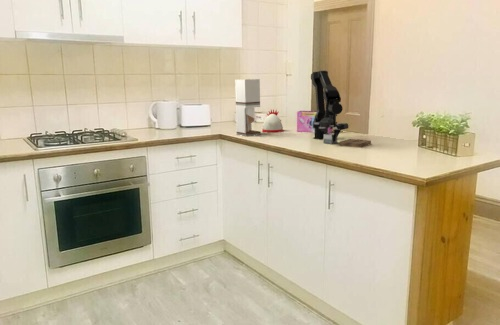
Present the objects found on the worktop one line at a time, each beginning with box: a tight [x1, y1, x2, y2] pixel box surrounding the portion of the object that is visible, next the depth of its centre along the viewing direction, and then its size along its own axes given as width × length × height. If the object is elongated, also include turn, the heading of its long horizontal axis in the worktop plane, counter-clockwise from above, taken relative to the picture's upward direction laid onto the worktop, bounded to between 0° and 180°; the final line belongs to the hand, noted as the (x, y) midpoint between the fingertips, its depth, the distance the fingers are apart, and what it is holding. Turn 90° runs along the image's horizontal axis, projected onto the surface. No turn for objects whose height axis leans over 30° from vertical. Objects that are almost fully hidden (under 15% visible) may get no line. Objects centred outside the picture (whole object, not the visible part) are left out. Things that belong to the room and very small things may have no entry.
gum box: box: [296, 110, 334, 134], centre depth 271 cm, size 24×8×14 cm, turn 60°
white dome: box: [262, 109, 284, 134], centre depth 279 cm, size 14×14×15 cm
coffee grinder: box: [234, 78, 262, 137], centre depth 262 cm, size 11×11×35 cm
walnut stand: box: [339, 138, 372, 148], centre depth 219 cm, size 12×12×2 cm
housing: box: [322, 132, 338, 145], centre depth 226 cm, size 5×6×5 cm
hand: (330, 141), depth 227 cm, fingers closed on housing, 5 cm apart
